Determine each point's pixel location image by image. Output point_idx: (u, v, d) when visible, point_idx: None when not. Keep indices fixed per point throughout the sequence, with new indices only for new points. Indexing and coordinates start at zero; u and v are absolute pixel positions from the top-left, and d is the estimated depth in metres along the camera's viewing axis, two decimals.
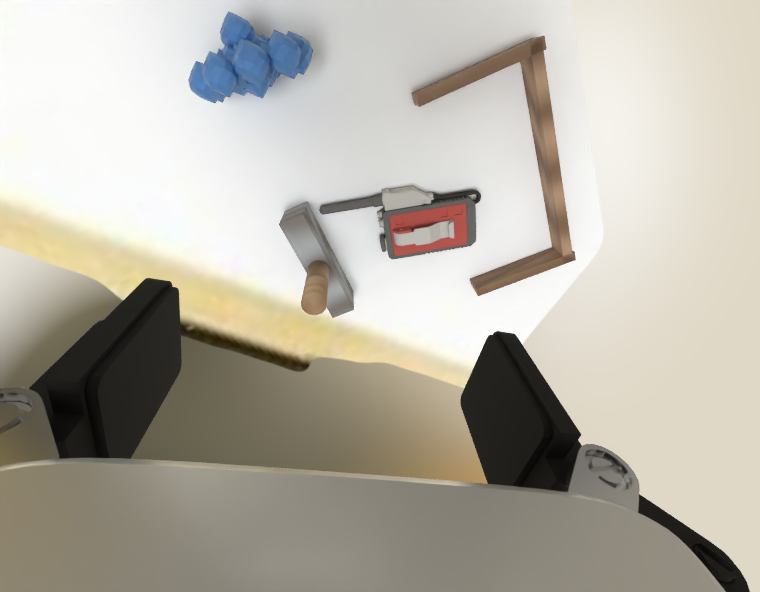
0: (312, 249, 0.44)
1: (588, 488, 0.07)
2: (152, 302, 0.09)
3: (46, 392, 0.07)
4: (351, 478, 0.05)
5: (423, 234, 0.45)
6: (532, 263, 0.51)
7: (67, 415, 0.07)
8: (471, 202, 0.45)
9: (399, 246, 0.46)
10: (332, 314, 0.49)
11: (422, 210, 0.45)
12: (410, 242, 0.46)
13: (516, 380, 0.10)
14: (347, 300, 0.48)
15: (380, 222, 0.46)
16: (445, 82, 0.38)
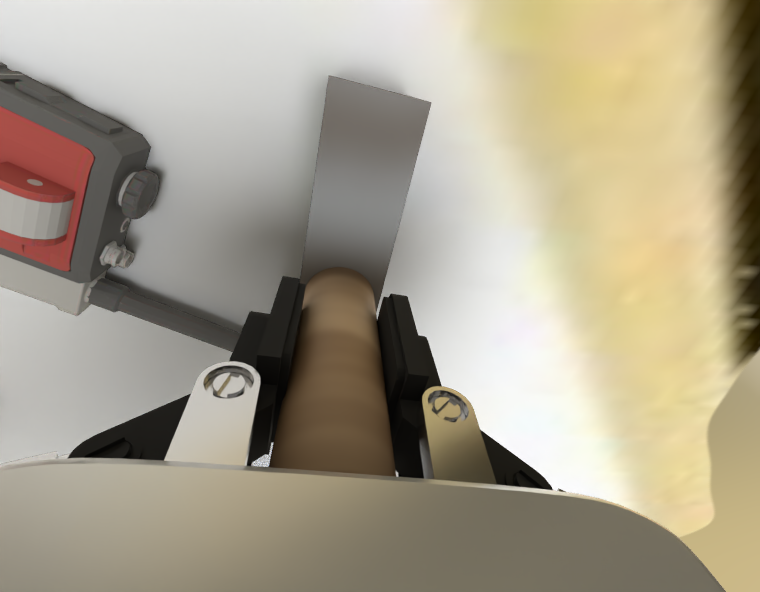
0: None
1: (442, 436, 0.08)
2: (296, 296, 0.11)
3: None
4: (351, 478, 0.05)
5: None
6: None
7: (267, 384, 0.08)
8: None
9: (39, 198, 0.13)
10: (420, 118, 0.11)
11: None
12: None
13: (391, 334, 0.10)
14: (325, 137, 0.11)
15: (111, 263, 0.16)
16: None
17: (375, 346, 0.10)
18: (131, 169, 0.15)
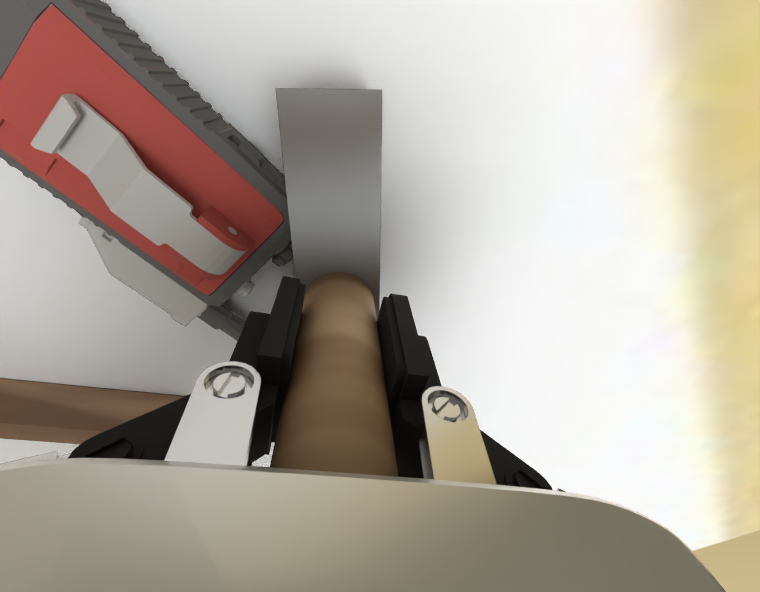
0: None
1: (442, 436, 0.07)
2: (296, 296, 0.11)
3: None
4: (351, 478, 0.05)
5: (145, 212, 0.13)
6: None
7: (267, 385, 0.08)
8: None
9: (236, 247, 0.15)
10: (375, 108, 0.11)
11: (120, 234, 0.15)
12: (198, 230, 0.14)
13: (391, 334, 0.10)
14: (287, 149, 0.11)
15: (242, 294, 0.18)
16: None
17: (370, 344, 0.10)
18: None
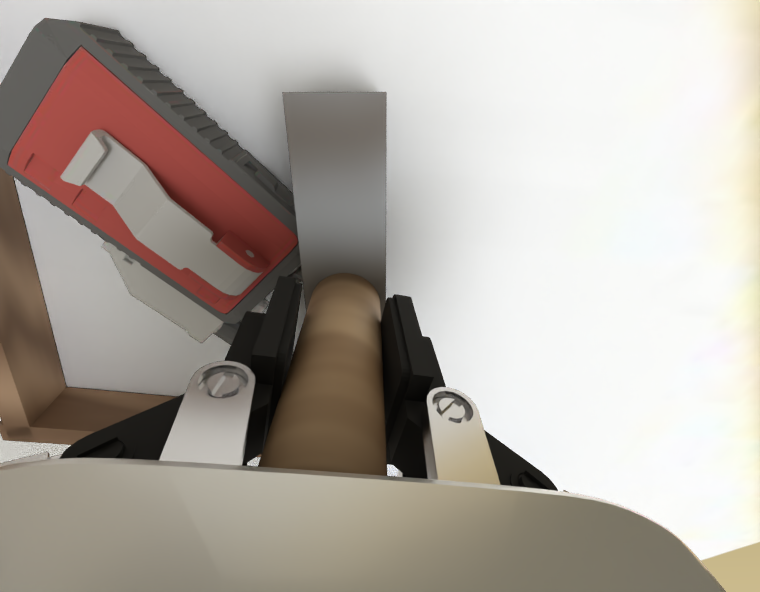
0: None
1: (446, 436, 0.08)
2: (292, 295, 0.10)
3: None
4: (351, 478, 0.05)
5: (168, 238, 0.14)
6: None
7: (262, 384, 0.08)
8: None
9: (254, 269, 0.15)
10: (380, 110, 0.11)
11: (142, 258, 0.16)
12: (218, 255, 0.15)
13: (395, 334, 0.10)
14: (293, 151, 0.12)
15: None
16: None
17: (369, 342, 0.10)
18: None
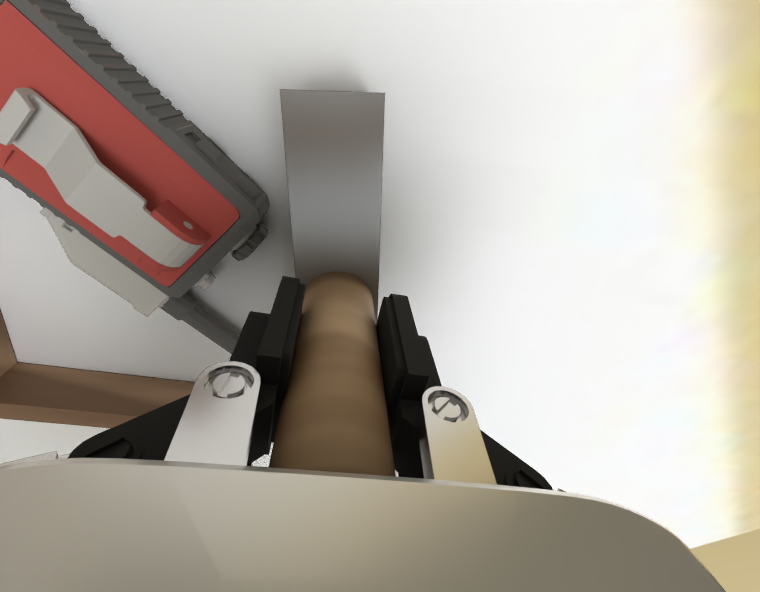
0: None
1: (442, 436, 0.08)
2: (296, 296, 0.11)
3: None
4: (351, 478, 0.05)
5: (99, 204, 0.14)
6: None
7: (267, 384, 0.08)
8: None
9: (191, 241, 0.15)
10: (378, 111, 0.11)
11: (80, 225, 0.16)
12: (152, 224, 0.14)
13: (391, 334, 0.10)
14: (290, 149, 0.11)
15: (202, 287, 0.18)
16: None
17: (368, 342, 0.10)
18: None
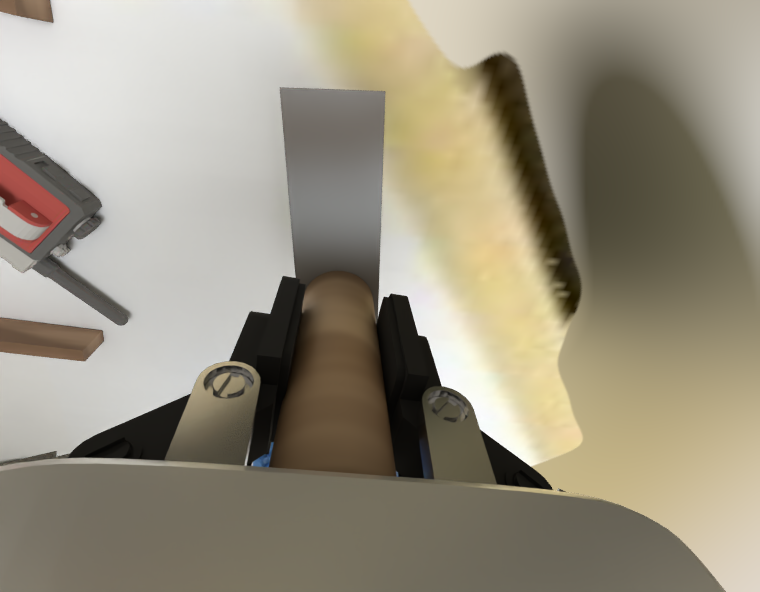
0: None
1: (442, 436, 0.08)
2: (296, 296, 0.11)
3: None
4: (351, 478, 0.05)
5: None
6: None
7: (267, 385, 0.08)
8: None
9: (34, 224, 0.26)
10: (378, 109, 0.11)
11: None
12: (8, 213, 0.25)
13: (391, 334, 0.10)
14: (289, 148, 0.11)
15: (56, 255, 0.29)
16: (43, 355, 0.32)
17: (369, 341, 0.10)
18: (86, 217, 0.28)
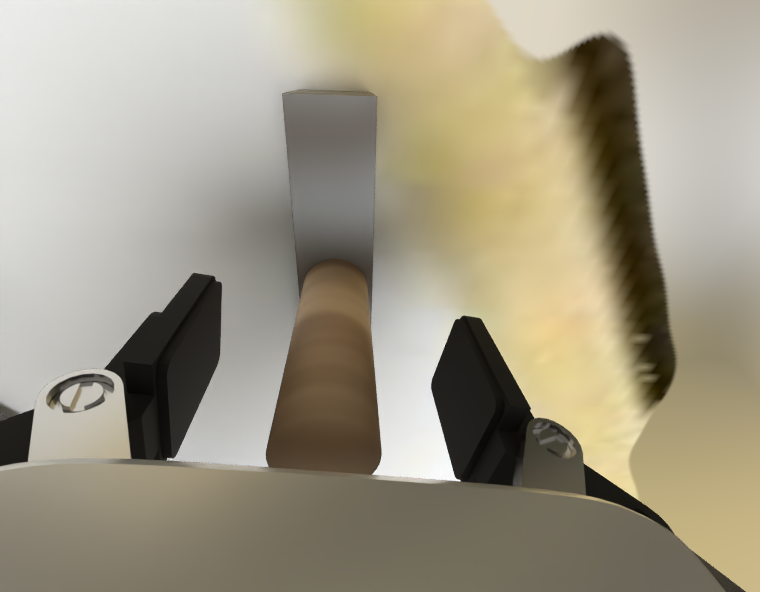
0: None
1: (540, 463, 0.07)
2: (202, 295, 0.10)
3: (117, 375, 0.08)
4: (351, 478, 0.05)
5: None
6: None
7: (140, 395, 0.07)
8: None
9: None
10: (371, 113, 0.12)
11: None
12: None
13: (476, 360, 0.10)
14: (291, 147, 0.13)
15: None
16: None
17: (361, 321, 0.12)
18: None
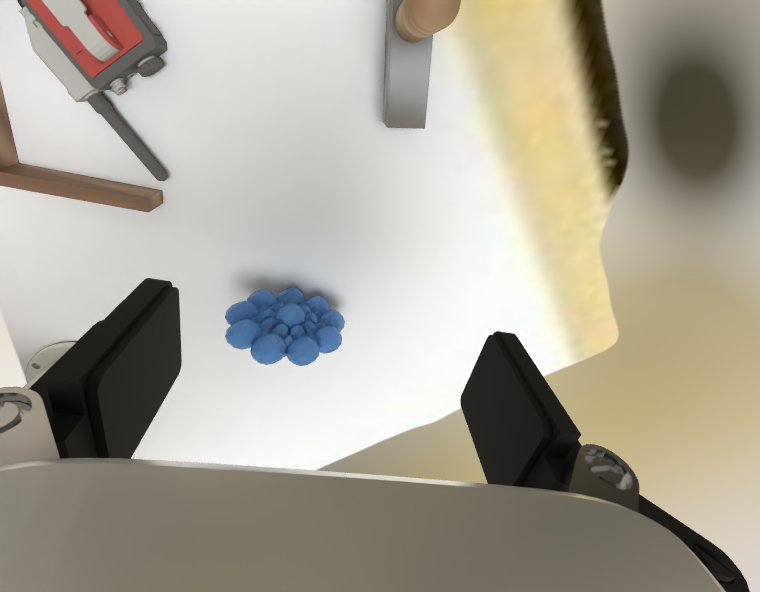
0: (403, 65, 0.28)
1: (588, 488, 0.07)
2: (152, 302, 0.09)
3: (46, 392, 0.07)
4: (351, 478, 0.05)
5: (58, 3, 0.25)
6: None
7: (67, 415, 0.07)
8: None
9: (109, 41, 0.27)
10: None
11: (43, 21, 0.27)
12: (87, 23, 0.26)
13: (516, 380, 0.10)
14: None
15: (115, 88, 0.30)
16: (109, 203, 0.33)
17: None
18: (153, 54, 0.29)
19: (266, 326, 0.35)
